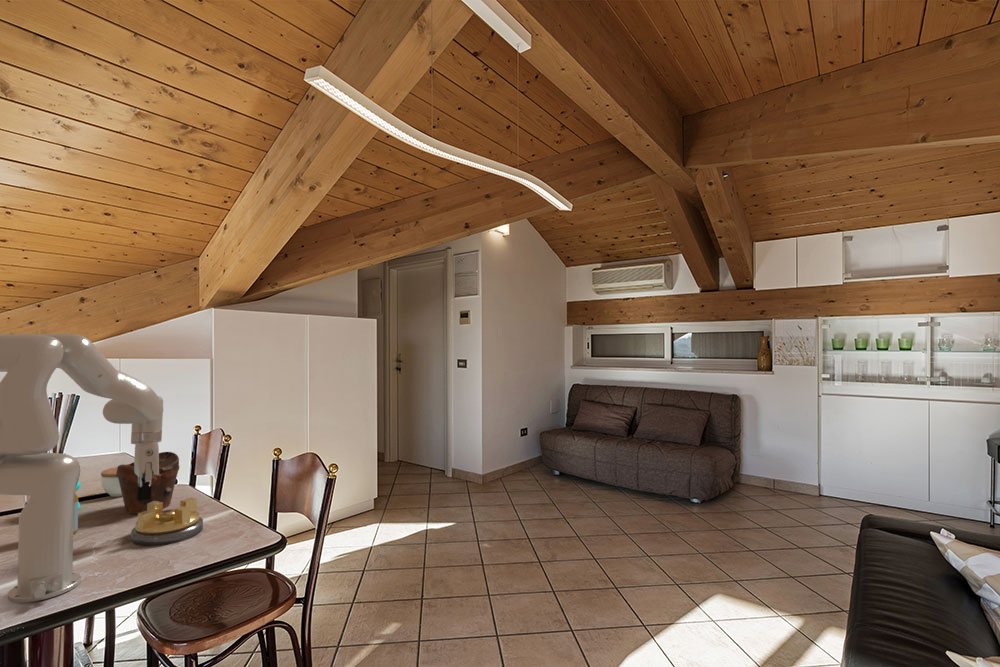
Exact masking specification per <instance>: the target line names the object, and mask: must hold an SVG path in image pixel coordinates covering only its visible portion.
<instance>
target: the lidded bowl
mask: <svg viewBox="0 0 1000 667" xmlns="http://www.w3.org/2000/svg"><path fill="white" fill-rule="evenodd" d="M121 465H125V464H123V463H122V464H121ZM117 468H118V466H115V467H111V468H106V469H105V470H102V471H101V472H100V478H101V480H100V481H101V487H102V488H103V490H104V492H105V493H106V494H108V495H109V496H110V497H114V498H115V497H117V498H118V497H123V496H122V492H121V488H120V484H119V479H118V477H116V473H117Z"/></svg>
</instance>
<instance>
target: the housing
mask: <svg viewBox="0 0 1000 667" xmlns="http://www.w3.org/2000/svg"><path fill="white" fill-rule="evenodd" d="M203 529H204V519H203V518H202V517H201V516H199V522H198V523H197V524H196V525H194V526H192V527H190V528H187V529H184V530H181V531H177V532H173V533H168V534H161V535H142V534H138V533H136V531H135V527H133V528H132V530H131V532H130V542H131V544H133V545H135V546H140V547H157V546H164V545H170V544H175V543H179V542H183V541H186V540H188V539H191V538H194V537H195V536H197V535H199V534H200V533H201V532H202V531H203Z"/></svg>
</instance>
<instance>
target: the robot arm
mask: <svg viewBox="0 0 1000 667" xmlns="http://www.w3.org/2000/svg"><path fill="white" fill-rule="evenodd" d="M56 369H60V370H62V371H63V372H64V373H65V374H66V375H67V376H68V378H69V377H70V379H71V380H73V382H74V383H75V384H76V385H77V386H79V388H80V389H81V390H82V391H84V392H85V393H88V394H91V395H94V396H97V397H100V398H105V399H110V400H108V401H107V402H106V403H105V404H104V407H103V410H102V415H103V418H104V419H105V420H106V421H108V422H109V423H113V424H118V425H119V424H122V425H123V424H124V425H130V424H131V431H130V432H131V434H130V445H134V458H133V460H134V461H133V462H134V472H135V474H136V475H137V476H138V486H137V500H138V501H142V500H148V499H151V479H152V473H153V474H154V475H155V476H158V475H159V453H160V449H159V443H161V442H162V441H163V440H162V435H163V434H162V433H163V416H164V414H163V413H164V399H163V397H161V396H159V395H157V393H156V392H155V391H154V390H153V389H152V387H151V386H149V385H148V384H146V383H145V382H143V381H141V380H139V379H137V378H135V377H133V376H131V375H129V374H127V373H125V372H123V371H120V370H118V369H116V367H115V366H114V365H113V364H112V363H111V362H110V361H109V360H108V358H106V357H105V356H104V355H103V353H102V352H101V351H100V350H99V349H98V347H97V346H96V345H95V344H94V343H93V341H91V340H90V339H89V338H87V337H86V336H84V335H82V334H77V333H75V334H74V333H34V334H33V333H30V334H29V333H22V334H21V333H20V334H19V333H18V334H17V333H16V334H14V333H6V334H5V333H4V334H3V333H0V373H1V372H2V373H5V374H4V376H3V378H2V379H1V380H0V495H1V496H2V495H3V496H29V499H28V500H27V502H26V504H25V505H24V507H23V508H22V510H21V512H20V515H19V517H18V540H17V541H18V545H17V548H18V549H17V550H18V551H17V585H16V586H14V587H12V588H11V589H10V590H9V591H8V593H7V600H8V601H9V602H12V603H17V604H18V603H19V604H20V603H21V604H22V603H23V604H24V603H25V604H26V603H33V602H38V601H42V600H47V599H51V598H54V597H57V596H59V595H62V594H64V593H67V592H69V591H71V590H73V589H75V587H77V586H78V585H79V584H80V583H81V580H82V578H81V577H82V576H81V575H80V574H79V573H77V572H73V569H74V568H73V566H74V562H73V560H74V535H73V524H74V499H75V492H76V493H77V491H76V487H77V484H78V481H79V480H80V476H81V465H80V463H79V461H78V460H77V459H76V458H75V457H73V455H70V454H67V453H66V454H65V453H59V452H49V451H52V450H53V449H55V447H56V446H57V445H58V443H59V441H60V432H59V427H58V424H57V421H56V418H55V416H54V412H53V410H52V407H51V406H52V405H51V404H50V400H49V398H48V393H47V392H48V391H47V388H48V384H49V381H50V379H51V378H52V375H53V373H54V372H55V371H56Z"/></svg>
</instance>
